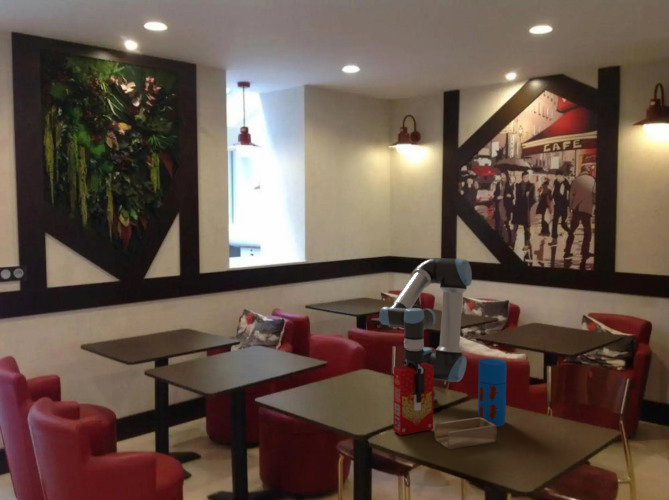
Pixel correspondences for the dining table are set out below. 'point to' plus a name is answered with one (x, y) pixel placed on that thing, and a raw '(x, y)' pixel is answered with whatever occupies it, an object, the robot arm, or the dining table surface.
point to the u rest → (465, 432)
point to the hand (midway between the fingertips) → (413, 407)
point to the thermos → (492, 390)
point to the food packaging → (412, 401)
